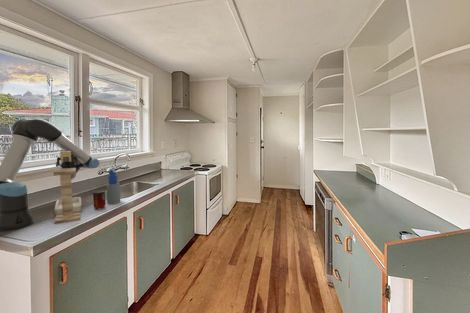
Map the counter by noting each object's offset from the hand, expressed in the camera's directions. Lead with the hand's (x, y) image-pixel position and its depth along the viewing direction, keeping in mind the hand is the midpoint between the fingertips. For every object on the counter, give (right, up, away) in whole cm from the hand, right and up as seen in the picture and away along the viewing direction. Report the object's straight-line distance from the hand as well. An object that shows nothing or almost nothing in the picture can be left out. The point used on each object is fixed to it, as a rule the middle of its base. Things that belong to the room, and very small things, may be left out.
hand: (66, 153), depth 142 cm
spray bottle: (+15, -37, +27) cm, 48 cm away
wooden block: (0, -4, 0) cm, 4 cm away
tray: (-7, -38, +12) cm, 40 cm away
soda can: (+13, -38, +14) cm, 42 cm away
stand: (+6, -39, -6) cm, 40 cm away
